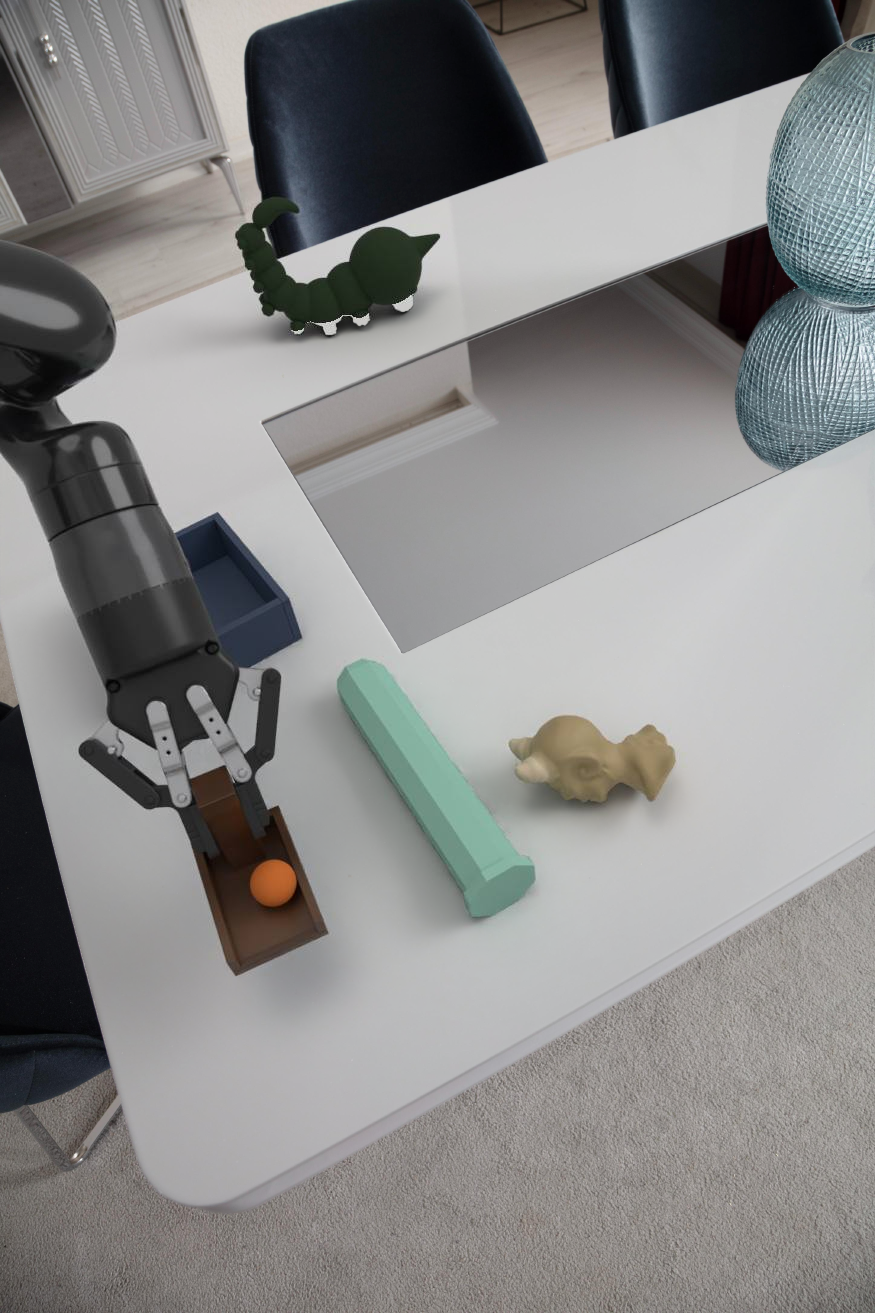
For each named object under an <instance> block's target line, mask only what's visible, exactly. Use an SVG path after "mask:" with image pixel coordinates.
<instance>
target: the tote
mask: <svg viewBox="0 0 875 1313" xmlns="http://www.w3.org/2000/svg"><path fill="white" fill-rule="evenodd" d="M174 533H175V535H176V537H177V539H178V541H179V543H180V546H181V548H182V551H183V553H184V556H185V557H186V558H187V560H188V562H189V564H190V567H191V573H192V575H193V577H194V580H195V583H196V585H197V587H198V590H199V592H200V595H201V597H202V599H203V602H204V604H205V607H206V609H207V612H208V614H209V617H210V619H211V621H212V624H213V626H214V629H215V631H216V634H217V636H218V639H219V641H220V643H221V646H222V648H223V650H224V651H225V652H226V653H227V654H228V655H229V656H230V657H231V658H233V659H234V660H235V661H236V663H237V664H238V667H245V668H252V666H254V665H256V664H258V663H260V662H261V661H263V660H265V659H267V658H269V657H271V656H272V655H275V654H276V653H278V652H280V651H282V650H284V649H285V648H287V647H288V646H290V645H292V644H294V643H296V642H298V641H299V640H302V639H303V636H302V633H301V629H300V627H299V626H300V625H299V623H298V621H297V617H296V613H295V611H294V607H293V605H292V602H291V599H290V597H289V596H288V594H286V592H285V591H284V590H283V589H282V587H281V586H280V585H279V584H278V582H277V581H276V580H275V579H274V577H272V575H271V574H270V573H269V572H268V571H267V569H266V568H265V567H264V565H263V564H262V563H261V562H260V560H258V558H257V557H256V556H255V555H254V553H253V552H252V551H251V550H250V549H249V547H248V546H247V545H246V544H245V543H244V541H242V539H241V538H240V537H239V535H238V534H237V533H236V532H235V531H234V529H233V528H232V527H231V526H230V525H229V523H228V522H227V521H226V520H225V518H223V516H222V515H221V514H220V513H219V511H217V512H215V513H212V514H210V515H209V516H206V517H205V518H202V519H200V520H198V521H196V522H194V523H192V524H190V525H188V526H186V527H184V528H182V529H180V530H178V531H175V532H174Z"/></svg>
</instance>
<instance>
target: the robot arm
mask: <svg viewBox="0 0 875 1313" xmlns="http://www.w3.org/2000/svg"><path fill="white" fill-rule="evenodd" d="M117 331H118V330H117V323H116V320H115V316H114V313H113V311H112V308H111V307H110V305H109V303H108V301H107V299H106V298H105V297H104V295H103V294H102V292H101V291H100V290H99V288H98V287H97V286H96V285H95V284H94V283H93V282H92V281H91V280H90V279H89V278H88V277H87V276H85V275H84V274H83V273H82V272H81V271H79V270H78V269H77V268H75V267H74V266H72V265H71V264H69V263H68V262H66V261H64V260H62V259H60V258H58V257H57V256H54V255H52V254H50V253H48V252H45V251H42V250H39V249H37V248H34V247H31V246H27V245H25V244H21V243H16V242H13V241H8V240H4V239H0V455H1V456H2V458H3V459H4V461H5V462H6V463H7V464H8V465H9V467H11V469H12V471H13V472H14V473H15V474H16V476H18V478H19V479H20V481H21V482H22V485H23V486H24V487H25V491H26V494H27V495H28V499H29V501H30V503H31V506H32V508H33V510H34V512H35V515H36V518H37V520H38V522H39V524H40V527H41V530H42V531H43V534H44V536H45V538H46V541H47V543H48V546H49V550H50V551H51V554H52V559H53V561H54V566H55V570H56V572H57V573H56V574H57V576H58V580H59V583H60V585H61V588H62V591H63V593H64V595H65V598H66V600H67V602H68V604H69V607H70V609H71V611H72V614H73V616H74V618H75V621H76V623H77V625H78V628H79V630H80V633H81V635H82V638H83V640H84V643H85V644H86V647H87V650H88V652H89V654H90V656H91V659H92V661H93V663H94V666H95V668H96V670H97V673H98V675H99V678H100V680H101V682H102V685H103V687H104V689H105V693H106V707H105V708H106V710H105V712H106V717H107V719H106V720H105V722H103V724H102V725H101V726H100V727H99V728H98V729H97V730H96V731H95V732H94V733H93V734H92V736H90V737H88V738H87V739H86V740H83V741H82V742H81V743H80V745H79V746H78V749H77V751H78V755H79V756H80V758H81V759H82V760H84V761H85V762H86V763H87V764H89V765H90V766H91V767H92V768H94V769H95V770H96V771H97V772H98V773H100V774H101V775H102V776H104V778H106V779H107V780H109V781H110V782H111V783H112V784H113V785H115V786H116V787H117V788H118V789H120V790H121V791H122V792H123V793H125V794H126V795H127V796H128V797H130V798H131V799H132V800H133V801H135V802H136V803H137V804H138V805H139V806H141V808H143V809H145V810H147V811H148V810H150V811H151V810H154V809H159V808H160V809H163V808H170V809H173V810H174V811H176V812H177V815H178V816H179V819H180V821H181V824H182V826H183V828H184V830H185V833H186V835H187V837H188V840H189V842H190V845H191V844H192V847H193V849H194V850H195V851H196V852H197V853H198V854H201V853H204V852H207V854H208V857H209V858H210V860H211V859H213V858H215V857H218V856H220V855H221V848H220V845H219V844H218V842H217V840H216V838H215V837H214V835H213V833H212V831H211V830H210V828H209V826H208V824H207V823H206V821H205V820H204V818H203V816H202V814H201V813H200V811H199V809H198V807H197V804H196V800H195V797H194V794H193V791H192V788H191V785H190V782H189V779H191V777H190V773H189V769H188V766H187V760H186V756H185V753H184V752H185V751H184V749H185V748H186V747H187V746H189V745H190V744H191V743H193V742H195V741H201V740H208V739H210V741H211V742H212V744H213V745H214V748H215V749H216V751H217V753H218V754H219V755H220V757H221V759H222V760H223V762H224V763H225V764H224V765H226V767H227V769H228V772H229V773H230V775H231V778H232V780H233V782H234V788H235V791H236V793H237V796H238V798H239V801H240V803H241V805H242V809H243V812H244V814H245V817H246V819H247V821H248V824H249V826H250V829H251V831H252V833H253V836H254V838H255V840H257V839H259V838H262V837H264V836H266V834H265V830H264V826H267V825H269V824H270V815H269V811H268V809H269V808H268V807H267V803H266V802H265V799H264V797H263V793H262V791H261V789H260V788H259V785H258V782H257V780H256V775H257V772H258V771H259V770H260V769H261V768H262V767H263V766H264V765H265V764H266V763H269V762H271V761H272V760H273V759H274V757H275V752H276V742H277V730H278V721H279V708H280V696H281V688H282V687H281V686H282V674H281V673H280V671H279V670H278V669H277V668H275V667H273V666H272V667H271V666H270V667H269V666H268V667H266V668H256V667H249V668H245V667H238V664H237V663H236V661H235V660H234V659H233V658H231V657H230V656H229V655H228V654H227V653H226V652H225V651H224V650H223V648H222V646H221V643H220V641H219V639H218V636H217V634H216V631H215V629H214V626H213V624H212V621H211V619H210V617H209V614H208V612H207V609H206V607H205V604H204V602H203V599H202V597H201V595H200V592H199V590H198V587H197V585H196V583H195V580H194V577H193V575H192V573H191V567H190V564H189V562H188V560H187V558H186V557H185V556H184V553H183V551H182V548H181V546H180V543H179V541H178V539H177V537H176V535H175V533H176V532H175V531H174V529H173V527H172V526H171V524H170V523H169V522H168V520H167V518H166V516H165V514H164V512H163V510H162V507H161V506H160V503H159V500H158V498H157V496H156V493H155V490H154V488H153V486H152V483H151V481H150V479H149V476H148V473H147V471H146V468H145V466H144V464H143V462H142V459H141V457H140V455H139V452H138V450H137V448H136V446H135V444H134V442H133V439H132V438H131V436H130V435H129V433H128V432H127V430H126V429H124V428H123V427H122V426H120V424H118V423H115V422H112V421H108V420H89V421H82V422H76V423H73V422H72V421H71V420H70V418H69V417H68V416H67V415H66V414H65V412H64V411H63V410H62V407H61V406H60V404H59V402H58V397H59V396H60V395H63V393H65V392H67V391H68V390H70V389H72V388H74V387H75V386H77V385H79V384H80V383H81V382H83V381H86V379H88V378H90V377H92V376H93V375H94V374H96V373H98V372H99V370H101V369H102V368H103V367H104V366H105V365H106V364H107V363H108V362H109V361H110V359H111V357H112V356H113V354H114V351H115V348H116V344H117V337H118V332H117ZM239 683H242V684H243V685H244V686H245V687H246V692H247V696H248V697H249V699H251V700H252V701H254V702H257V703H258V704H257V712H256V713H257V715H256V724H255V725H256V727H255V735H254V736H255V737H254V745H252V746H251V748H249V749H248V750H247V751H246V752H244V750H243V749H242V746H241V745H240V743H239V742H238V739H237V738H236V735H235V734H234V732H233V730H232V728H231V727H230V725H229V723H228V722H229V720H230V715H231V711H232V707H233V703H234V699H235V696H236V693H237V689H238V685H239ZM120 731H122V732H124V733H125V734H128V735H129V736H131V737H133V738H135V739H136V740H138V741H140V742H141V743H143V744H145V745H146V746H148V747H150V748H151V749H153V750H155V751H157V754H158V758H159V761H160V765H161V769H162V772H163V774H164V776H165V780H166V784H158V783H156V782H155V781H154V780H152V779H151V778H150V777H149V776H148V775H146V774H145V773H144V772H142V770H140V769H139V768H138V767H136V766H135V765H134V764H133V763H131V761H129V760H128V759H127V758H126V757H124V756H123V755H122V754H123V753H124V751H125V744H124V741H122V739H120V736H119V732H120ZM192 847H191V848H192Z"/></svg>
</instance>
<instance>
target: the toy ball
mask: <svg viewBox="0 0 875 1313" xmlns="http://www.w3.org/2000/svg"><path fill="white" fill-rule="evenodd" d="M296 884H297V880H296V875H295V873H294V871H293V869H292V868H291V867H290V866H289V865H288V864H287V863H285V862H283V861H281V860H268V861H265V862H263V863H261V864H260V865H259V866H258V867H257V868H256V869H255V870H254V872H253V874H252V876H251V880H250V888H251V892H252V894H253V896H254V898H255V899H256V900H257V901H258V902H259V903H261V904H263V905H265V906H270V907H275V906H280V905H282V904H284V903H286V902H287V901H288V900H289V899H290V898H291V897H292V896H293V894H294V892H295V889H296Z"/></svg>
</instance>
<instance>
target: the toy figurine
mask: <svg viewBox="0 0 875 1313" xmlns="http://www.w3.org/2000/svg"><path fill="white" fill-rule="evenodd" d="M300 212H301V211H300V208H299V206H298V205H297V204H296V203H295V202H294V201H292V200H291V199H288V198H286V197H281V196H271V197H269V198H265V199H263V200H261V201H260V202H259V203H258V204H257V205H256V206H255V207H254V208H253V211H252V215H251V219H252V222H245V223H243V224H241V226H240V227H238V229H237V230H236V231H235V233H234V239H235V240H236V242H237V243H236V246H237V247H238V249H239V250H240V251H241V256H242V258H243V261H244V267H245V269H246V270H247V271H250V273H249V276H250V279H251V280H252V281H253V285H252V289H253V291H254V293H256V294H258V295H259V297H258V301H259V303H260V304H261V309H260V311H261V312H262V315H263V316H266V317H268V318H269V317H272V316H274V314H275V312H278V313H284V316H285V317H286V318H287V317H288V318H287V319H288V320H290V322H289V328H291V329H290V331H291V330H293V331H298V330H302V329H303V328H304V327H305V328H306V324H305V323H307V322H310V321H311V322H314V323H326V322H331V321H334V320H336V319H338V318H340V317H341V316H342V315H352V316H353V317H356V318H362V317H364V316H366V315H367V314H368V313H369V311H370V309H371V308H372V307H373V305H374V304H376V305H379V306H392V304H396V303H399V302H401V301H403V300H405V299H406V298H408V297H409V296H410V295H412V294H413V295H415V294H416V293H417V292H418V285H419V283H420V280H421V276H422V271H423V259H424V258H425V256H426V255H427V254H428V253H429V252H430V251H431V249H432V248H433V247H434V246H435V245H436V244H437V242H438V241H439V240H440V239H441V234H440V233H430V234H423V235H422V234H421V235H415V236H411V235H410V234H407V233H406V232H405V231H403V230H400V229H398V228H396V227H393V226H378V227H374V228H370V230H368V231H366V232H365V233H363V234H362V235H360V236H359V238H358V239H357V240H356V242H355V243H354V245H353V246H352V249H351V251H350V254H349V258H348V261H343V262H340V263H338V264H336V265H335V266H333V267H332V268H331V269H330V270H329V272H328V273H327V275H326V277H318V278H314V279H312V280H310V281H309V282H308V283H305V282H297V281H296V280H295V279H294V277H292V276H290V275H288V274H287V271H286V269H285V266H284V265H283V263H282V261H280V260H278V259H277V258H276V251H275V249H274V247H273V245H272V244H271V243H270V242H269V241H268V240H266V234H265V232H264V229H267V228H268V227H269V226H271V224H272V223H273V222H274V220H275V219H276V218H277V217H278V216H280V215H282V214H284V213H294V214H296V215H297V214H299V213H300ZM370 307H371V308H370ZM369 308H370V309H369ZM368 309H369V311H368ZM307 324H308V323H307Z"/></svg>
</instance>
